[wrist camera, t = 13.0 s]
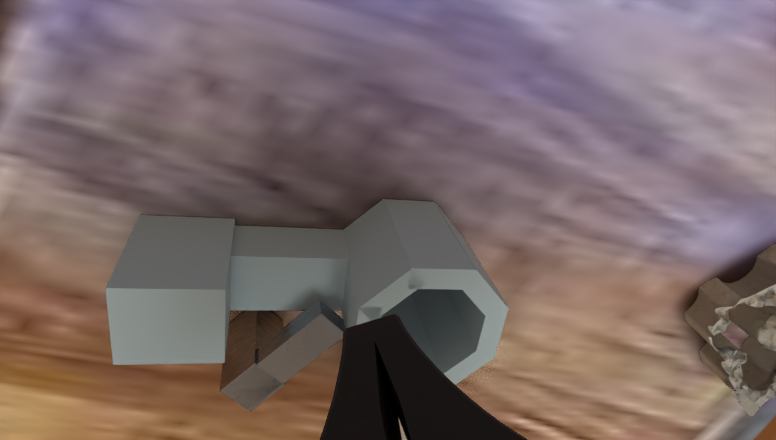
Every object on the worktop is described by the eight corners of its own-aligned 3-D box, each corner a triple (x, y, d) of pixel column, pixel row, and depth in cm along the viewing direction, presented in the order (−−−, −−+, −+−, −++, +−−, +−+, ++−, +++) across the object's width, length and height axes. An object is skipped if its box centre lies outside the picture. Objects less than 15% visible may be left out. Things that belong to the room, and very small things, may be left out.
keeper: (336, 277, 24) (347, 335, 20) (253, 344, 25) (251, 411, 21) (312, 255, 23) (319, 311, 20) (227, 324, 24) (219, 390, 20)
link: (470, 202, 23) (520, 270, 19) (446, 307, 26) (485, 390, 21) (138, 185, 20) (98, 260, 16) (146, 305, 23) (113, 401, 18)
